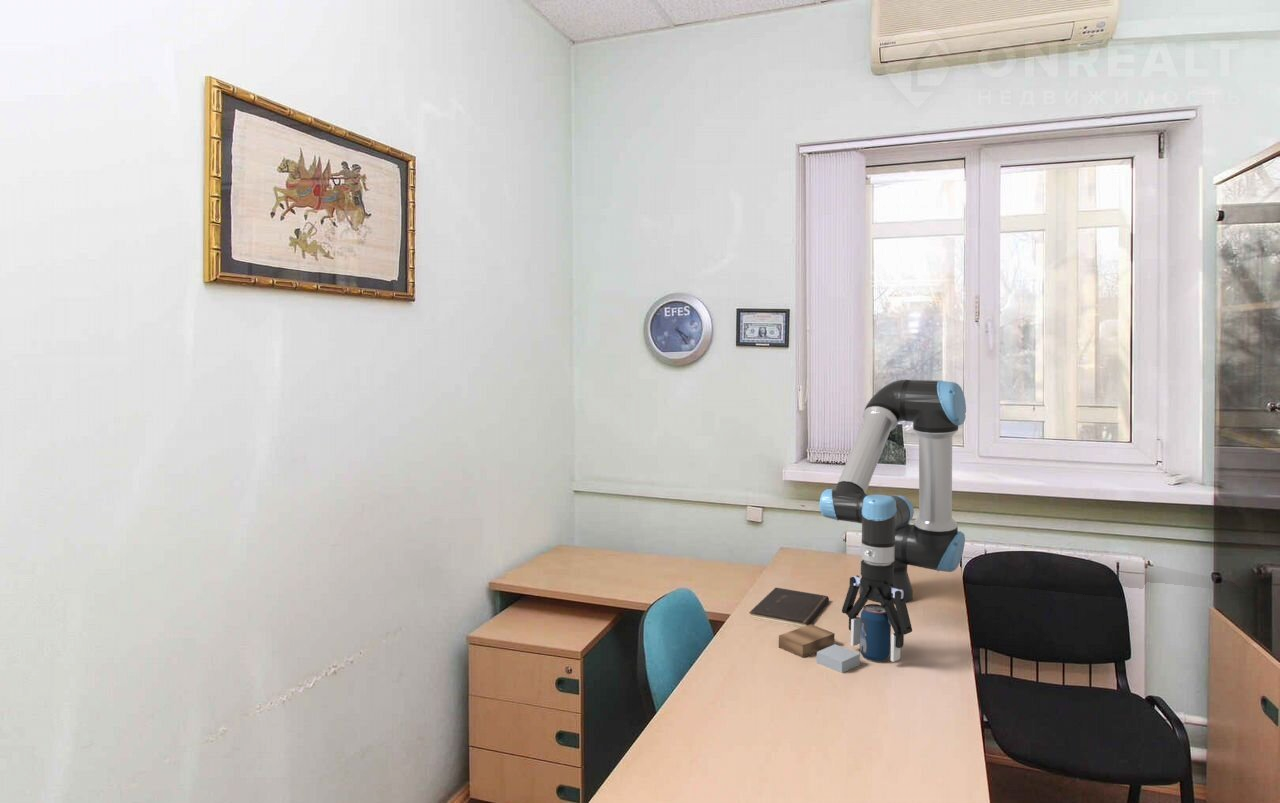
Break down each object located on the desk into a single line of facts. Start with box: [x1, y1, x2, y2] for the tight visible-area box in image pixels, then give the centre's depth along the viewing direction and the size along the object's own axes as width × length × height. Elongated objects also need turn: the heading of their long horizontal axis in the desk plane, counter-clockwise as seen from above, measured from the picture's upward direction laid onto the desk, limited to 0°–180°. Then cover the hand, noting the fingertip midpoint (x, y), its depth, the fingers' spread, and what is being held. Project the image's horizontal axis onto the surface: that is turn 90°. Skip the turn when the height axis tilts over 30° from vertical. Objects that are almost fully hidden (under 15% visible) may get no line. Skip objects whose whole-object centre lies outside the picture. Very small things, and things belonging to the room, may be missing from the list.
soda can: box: [859, 603, 892, 663], centre depth 177 cm, size 7×7×12 cm
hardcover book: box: [748, 587, 830, 628], centre depth 209 cm, size 16×23×2 cm
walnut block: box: [778, 624, 835, 658], centre depth 184 cm, size 12×8×3 cm, turn 128°
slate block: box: [816, 643, 861, 674], centre depth 174 cm, size 7×7×3 cm
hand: (874, 651), depth 178 cm, fingers open, 10 cm apart
